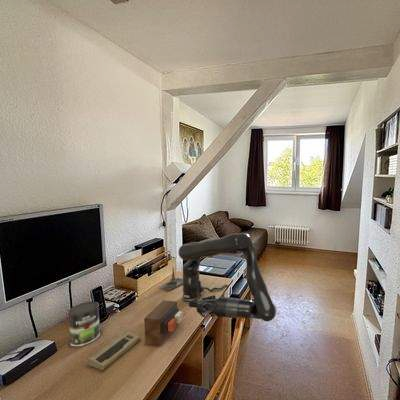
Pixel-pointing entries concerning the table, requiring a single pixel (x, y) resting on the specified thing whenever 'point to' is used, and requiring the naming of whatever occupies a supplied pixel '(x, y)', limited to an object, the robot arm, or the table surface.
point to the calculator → (110, 307)
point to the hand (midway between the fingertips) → (189, 303)
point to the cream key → (178, 316)
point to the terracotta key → (172, 325)
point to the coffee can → (84, 323)
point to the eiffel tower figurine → (172, 283)
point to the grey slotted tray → (113, 351)
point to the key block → (159, 322)
